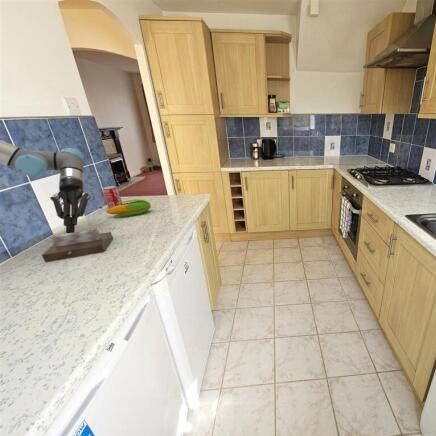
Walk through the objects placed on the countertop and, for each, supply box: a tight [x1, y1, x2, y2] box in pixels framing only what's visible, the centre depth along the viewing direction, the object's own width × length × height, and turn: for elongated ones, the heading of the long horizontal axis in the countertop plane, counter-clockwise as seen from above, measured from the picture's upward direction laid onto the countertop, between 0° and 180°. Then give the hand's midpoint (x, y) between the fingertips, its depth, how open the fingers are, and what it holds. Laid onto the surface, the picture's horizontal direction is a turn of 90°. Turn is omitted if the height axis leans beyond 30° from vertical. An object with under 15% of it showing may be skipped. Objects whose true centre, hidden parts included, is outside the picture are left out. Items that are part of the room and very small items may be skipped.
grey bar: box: [50, 228, 101, 247], centre depth 93 cm, size 14×2×4 cm, turn 111°
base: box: [41, 231, 114, 263], centre depth 94 cm, size 18×18×3 cm
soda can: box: [102, 185, 123, 209], centre depth 135 cm, size 7×7×12 cm
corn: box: [105, 199, 151, 218], centre depth 126 cm, size 7×8×20 cm
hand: (70, 233), depth 95 cm, fingers closed
